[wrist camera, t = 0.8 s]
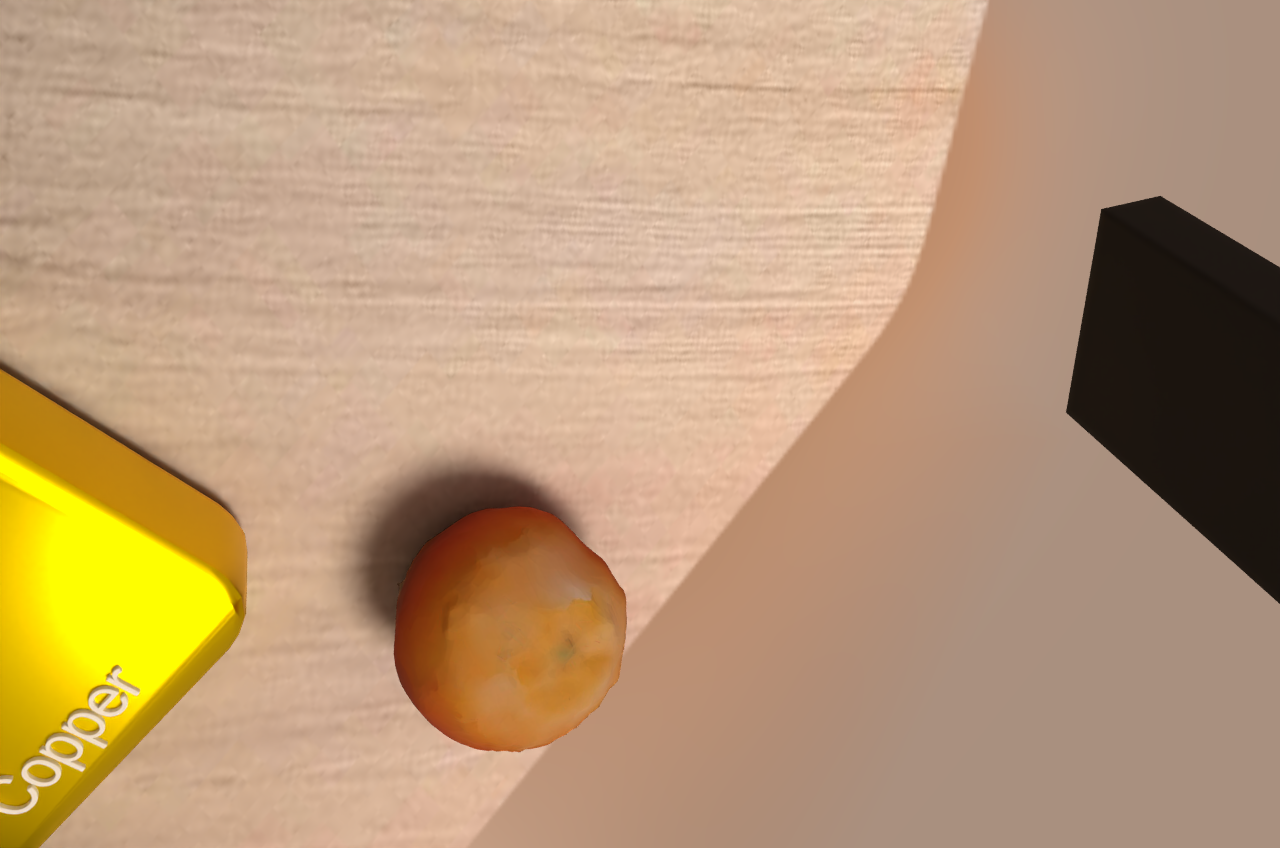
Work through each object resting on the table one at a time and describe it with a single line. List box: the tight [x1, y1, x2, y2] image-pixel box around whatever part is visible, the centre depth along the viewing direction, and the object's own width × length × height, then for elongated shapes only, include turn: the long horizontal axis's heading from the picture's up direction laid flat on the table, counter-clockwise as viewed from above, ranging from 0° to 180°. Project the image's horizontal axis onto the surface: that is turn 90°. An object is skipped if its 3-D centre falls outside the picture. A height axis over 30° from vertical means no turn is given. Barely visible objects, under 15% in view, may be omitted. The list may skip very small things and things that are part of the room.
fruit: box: [394, 506, 627, 752], centre depth 42 cm, size 8×8×8 cm
